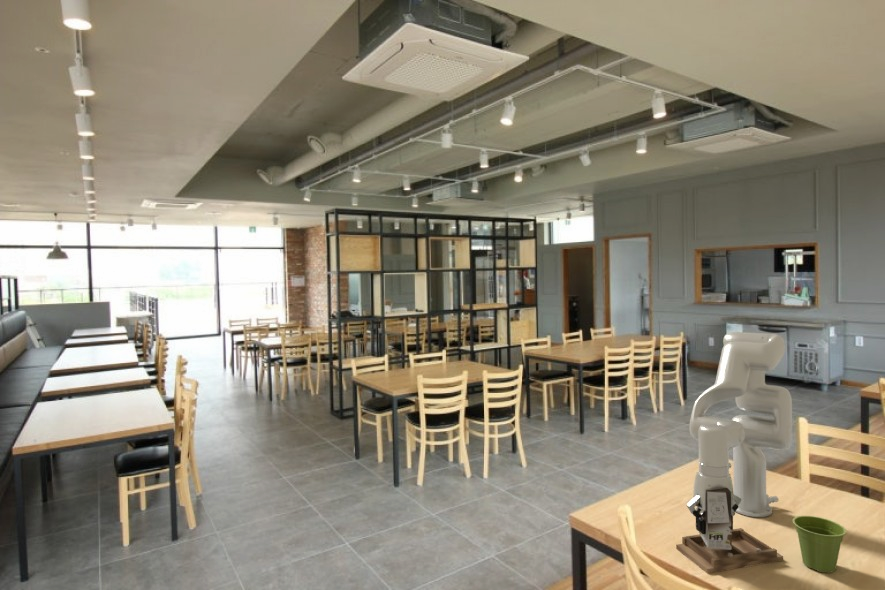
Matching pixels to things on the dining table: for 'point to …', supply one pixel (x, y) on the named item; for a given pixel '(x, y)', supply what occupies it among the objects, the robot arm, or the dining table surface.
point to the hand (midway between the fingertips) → (714, 529)
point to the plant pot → (819, 541)
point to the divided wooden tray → (728, 552)
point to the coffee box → (718, 519)
